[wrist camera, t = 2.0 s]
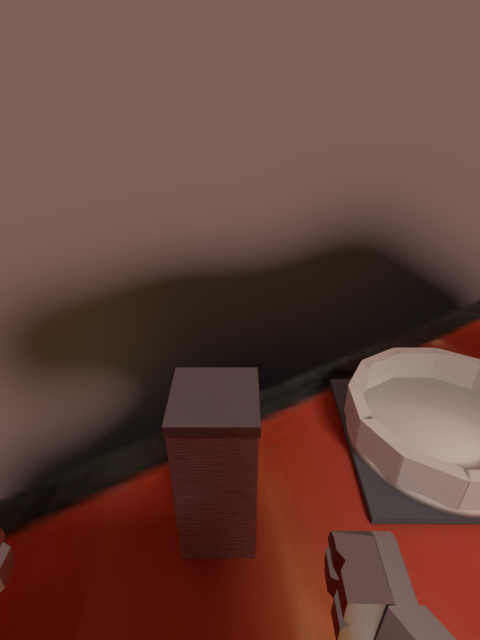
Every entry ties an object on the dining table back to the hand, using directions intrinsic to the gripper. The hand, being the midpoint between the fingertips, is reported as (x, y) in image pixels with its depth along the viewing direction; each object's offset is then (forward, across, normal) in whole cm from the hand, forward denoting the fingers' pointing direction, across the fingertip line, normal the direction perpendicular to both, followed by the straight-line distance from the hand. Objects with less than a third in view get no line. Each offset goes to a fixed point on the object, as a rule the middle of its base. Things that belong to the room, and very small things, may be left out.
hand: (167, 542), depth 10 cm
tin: (+12, 0, +18) cm, 22 cm away
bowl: (+20, -20, +17) cm, 33 cm away
